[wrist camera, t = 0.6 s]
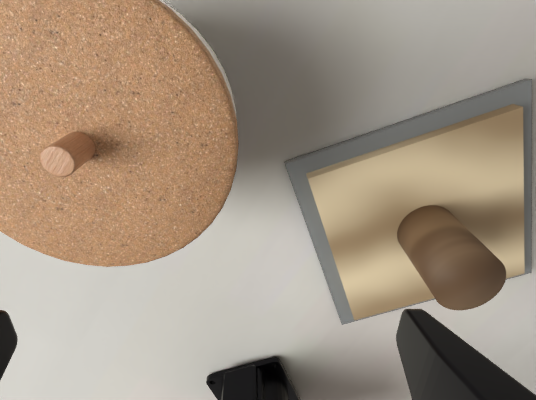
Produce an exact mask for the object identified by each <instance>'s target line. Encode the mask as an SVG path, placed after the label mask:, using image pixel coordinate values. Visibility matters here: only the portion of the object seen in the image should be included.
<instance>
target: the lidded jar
mask: <svg viewBox="0 0 536 400" xmlns="http://www.w3.org/2000/svg"><path fill="white" fill-rule="evenodd" d="M238 144H239V143H238V129H237V119H236V108H235V103H234V99H233V95H232V90H231V87H230V85H229V82H228V79H227V77H226V74H225V72H224V69H223V67H222V66H221V64H220V62H219V60H218V59H217V57H216V55H215V53H214V52H213V50H212V48H211V47H210V46H209V45H208V43H207V42H206V41H205V39H204V38H203V37H202V36H201V34H200V33H199V32H198V30H197V29H195V28H194V27H193V26H192V25H191V24H190V23H189V22H188V21H187V20H186V19H185V18H184V17H183V16H182V15H181V14H180V13H178V12H177V11H176V10H174V9H173V8H171V7H170V6H169V5H167V4H166V3H164V2H163V1H162V0H0V231H1V232H2V233H4V234H6V235H7V236H9V237H11V238H13V239H14V240H16V241H18V242H19V243H21V244H23V245H25V246H27V247H29V248H32V249H34V250H36V251H39V252H41V253H43V254H46V255H49V256H52V257H55V258H58V259H61V260H64V261H69V262H74V263H80V264H85V265H95V266H106V267H109V266H127V265H134V264H140V263H146V262H149V261H152V260H156V259H159V258H162V257H165V256H167V255H169V254H171V253H173V252H175V251H177V250H179V249H181V248H183V247H185V246H186V245H187V244H189V243H190V242H192V241H193V240H194V239H196V238H197V237H198V236H199V235H200V234H201V233H202V232H203V231H204V230H205V229H206V228H207V227H208V226H209V225H210V224H211V223H212V222H213V220H214V219H215V218H216V216H217V215H218V213H219V212H220V211H221V209H222V207H223V205H224V203H225V201H226V199H227V197H228V195H229V192H230V190H231V187H232V183H233V179H234V175H235V172H236V166H237V155H238Z"/></svg>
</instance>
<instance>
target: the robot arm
mask: <svg viewBox="0 0 536 400" xmlns="http://www.w3.org/2000/svg"><path fill="white" fill-rule="evenodd" d="M396 341H397V346H398V350H399V354H400V357H401V361H402V364H403V368H404V371H405V375H406V379H407V382H408V386H409V389H410V393H411V397H412V400H536V395H535V394H533V393H532V392H531V391H529V390H528V389H527V388H526V387H524V386H523V385H522V384H520V383H519V382H518V381H516V380H515V379H514V378H512V377H511V376H510V375H508V374H507V373H506V372H504V371H503V370H502V369H500V368H499V367H498V366H497V365H495V364H494V363H493V362H491V361H490V360H489V359H487V358H486V357H485V356H483V355H482V354H481V353H479V352H478V351H477V350H475V349H474V348H473V347H472V346H470V345H469V344H468V343H466V342H465V341H464V340H462V339H461V338H460V337H458V336H457V335H456V334H454V333H453V332H452V331H450V330H449V329H448V328H446V327H445V326H444V325H443V324H441V323H440V322H439V321H437V320H436V319H435V318H433V317H432V316H431V315H429V314H428V313H427V312H425V311H424V310H422V309H405V310H404V311H403V312H402V315H401V319H400V323H399V326H398V330H397V334H396ZM16 345H17V334H16V332H15V329H14V327H13V324H12V322H11V319H10V317H9V315H8V313H7V312H6V311H3V310H0V380H1V378H2V376H3V374H4V372H5V369H6V367H7V365H8V363H9V361H10V359H11V357H12V355H13V353H14V351H15V348H16ZM206 383H207V385H208V386H209V388H210V389H211V391H212V392H213V394H214V395H215V397H216V398H217V399H218V400H300V398H299V396H298V394H297V392H296V390H295V388H294V386H293V384H292V382H291V380H290V378H289V376H288V374H287V372H286V370H285V368H284V366H283V365H282V363H281V361H280V359H279V358H270V359H266V360H262V361H259V362H255V363H251V364H248V365H244V366H240V367H237V368H233V369H229V370H225V371H222V372H218V373H214V374H211V375H208V376H207V381H206Z"/></svg>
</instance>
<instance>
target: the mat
mask: <svg viewBox="0 0 536 400" xmlns="http://www.w3.org/2000/svg"><path fill="white" fill-rule="evenodd" d="M511 104H515V105H518V106H522V107H523V150H524V261H525V273H524V274H528V273H531V230H532V80H531V79H524V80H521V81H518V82H515V83H512V84H509V85H507V86H504V87H501V88H498V89H495V90H492V91H489V92H486V93H483V94H480V95H477V96H475V97H472V98H469V99H466V100H463V101H460V102H457V103H454V104H451V105H448V106H445V107H443V108H440V109H437V110H434V111H431V112H428V113H425V114H422V115H419V116H416V117H413V118H411V119H408V120H405V121H402V122H399V123H396V124H393V125H390V126H387V127H384V128H381V129H379V130H376V131H373V132H370V133H367V134H364V135H361V136H358V137H355V138H352V139H349V140H347V141H344V142H341V143H338V144H335V145H332V146H329V147H326V148H323V149H320V150H317V151H315V152H312V153H309V154H306V155H303V156H300V157H297V158H294V159H291V160H288V161H286V162H285V166H286V169H287V172H288V174H289V177H290V180H291V183H292V186H293V188H294V191H295V194H296V197H297V200H298V202H299V205H300V208H301V211H302V214H303V216H304V219H305V222H306V225H307V228H308V231H309V233H310V236H311V239H312V242H313V245H314V247H315V250H316V253H317V256H318V259H319V261H320V264H321V267H322V270H323V273H324V276H325V278H326V281H327V284H328V287H329V290H330V292H331V295H332V298H333V301H334V304H335V306H336V309H337V312H338V315H339V318H340V320H341V323H342V325H343V324H347V323H350V322H354V321H358V320H361V319H365V318H369V317H372V316H376V315H379V314H376V315H372V316H369V317H365V318H361V319H358V320H354V317H353V314H352V311H351V308H350V305H349V302H348V299H347V296H346V293H345V290H344V287H343V284H342V281H341V278H340V275H339V272H338V269H337V266H336V263H335V260H334V257H333V254H332V251H331V248H330V245H329V242H328V239H327V236H326V233H325V230H324V227H323V224H322V220H321V217H320V214H319V211H318V208H317V205H316V202H315V199H314V196H313V193H312V190H311V187H310V184H309V181H308V178H307V175H306V173H309V172H312V171H315V170H318V169H321V168H324V167H327V166H330V165H333V164H336V163H339V162H342V161H345V160H348V159H351V158H354V157H357V156H360V155H363V154H366V153H369V152H372V151H375V150H378V149H381V148H384V147H387V146H389V145H392V144H395V143H398V142H401V141H404V140H407V139H410V138H413V137H416V136H419V135H422V134H425V133H428V132H431V131H434V130H437V129H440V128H443V127H446V126H449V125H452V124H455V123H458V122H461V121H464V120H467V119H470V118H473V117H476V116H479V115H482V114H485V113H487V112H490V111H493V110H496V109H499V108H502V107H505V106H508V105H511ZM524 274H521V275H524ZM521 275H517V276H521ZM517 276H514V277H517ZM514 277H510V278H514ZM510 278H506V279H510ZM434 299H435V298H434ZM434 299H430V300H434ZM430 300H427V301H430ZM427 301H423V302H427ZM423 302H419V303H423ZM419 303H416V304H419ZM416 304H412V305H416ZM412 305H409V306H412ZM405 307H408V306H405ZM405 307H401V308H405ZM401 308H398V309H401ZM398 309H394V310H398ZM394 310H390V311H394ZM390 311H387V312H390ZM387 312H383V313H387ZM383 313H380V314H383Z"/></svg>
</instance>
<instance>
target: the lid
mask: <svg viewBox="0 0 536 400" xmlns="http://www.w3.org/2000/svg"><path fill="white" fill-rule="evenodd" d="M306 175H307V178H308V181H309V184H310V187H311V190H312V193H313V196H314V199H315V202H316V205H317V208H318V211H319V214H320V217H321V220H322V224H323V227H324V230H325V233H326V236H327V239H328V242H329V245H330V248H331V251H332V254H333V257H334V260H335V263H336V266H337V269H338V272H339V275H340V278H341V281H342V284H343V287H344V290H345V293H346V296H347V299H348V302H349V305H350V308H351V311H352V314H353V317H354V320H358V319H361V318H365V317H369V316H372V315H376V314H380V313H383V312H387V311H390V310H394V309H398V308H401V307H405V306H409V305H412V304H416V303H419V302H423V301H427V300H430V299H434V298H435V299H436V300H437V302H438V303H439V304H440V305H442V306H443V307H446V308H448V309H452V310H467V309H472V308H475V307H478V306H480V305H482V304H484V303H486V302H488V301H489V300H491V299H492V298H493V297H494V296H495V295H497V293H498V292H499V291H500V290H501V288H502V287H503V285H504V283H505V280H506V278H510V277H514V276H517V275H521V274H524V273H525V261H524V150H523V107H522V106H518V105H515V104H511V105H508V106H505V107H502V108H499V109H496V110H493V111H490V112H487V113H485V114H482V115H479V116H476V117H473V118H470V119H467V120H464V121H461V122H458V123H455V124H452V125H449V126H446V127H443V128H440V129H437V130H434V131H431V132H428V133H425V134H422V135H419V136H416V137H413V138H410V139H407V140H404V141H401V142H398V143H395V144H392V145H389V146H387V147H384V148H381V149H378V150H375V151H372V152H369V153H366V154H363V155H360V156H357V157H354V158H351V159H348V160H345V161H342V162H339V163H336V164H333V165H330V166H327V167H324V168H321V169H318V170H315V171H312V172H309V173H306Z"/></svg>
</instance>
